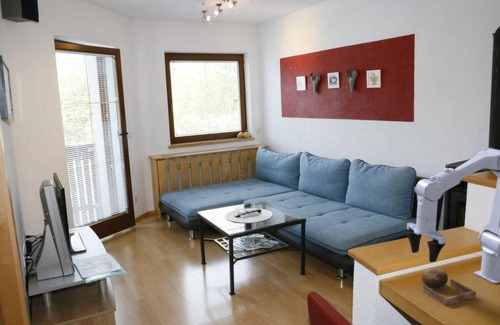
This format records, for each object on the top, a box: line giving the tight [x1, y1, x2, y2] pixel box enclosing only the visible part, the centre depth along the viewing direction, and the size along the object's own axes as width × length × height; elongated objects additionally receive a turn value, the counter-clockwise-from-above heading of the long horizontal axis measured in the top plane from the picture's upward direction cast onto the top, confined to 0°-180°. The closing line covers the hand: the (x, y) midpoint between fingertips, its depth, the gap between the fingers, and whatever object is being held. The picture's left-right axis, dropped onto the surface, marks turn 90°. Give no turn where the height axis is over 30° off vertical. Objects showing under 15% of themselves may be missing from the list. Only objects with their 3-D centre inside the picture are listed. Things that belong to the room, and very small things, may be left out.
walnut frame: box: [422, 278, 477, 306], centre depth 124 cm, size 12×9×2 cm
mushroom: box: [421, 267, 449, 290], centre depth 129 cm, size 8×8×6 cm
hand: (423, 256), depth 129 cm, fingers open, 7 cm apart
